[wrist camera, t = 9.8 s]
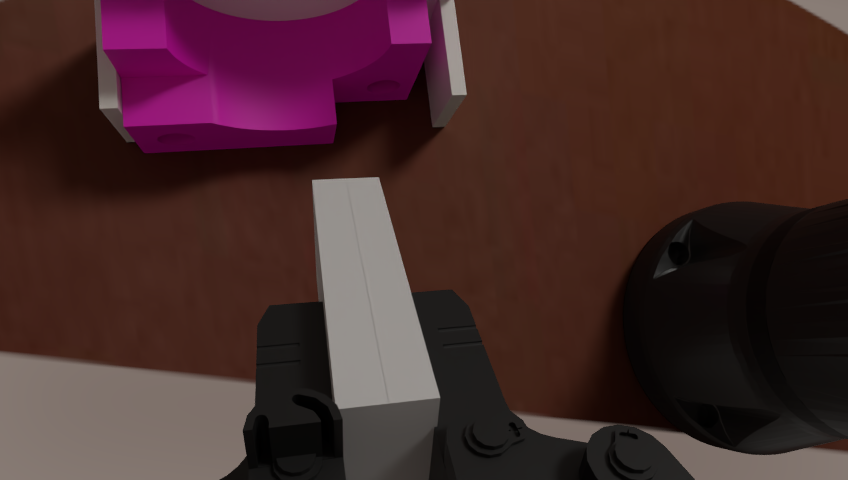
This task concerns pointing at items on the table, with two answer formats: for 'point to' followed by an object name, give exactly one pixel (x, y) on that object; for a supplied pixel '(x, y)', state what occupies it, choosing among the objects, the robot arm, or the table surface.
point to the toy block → (255, 70)
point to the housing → (302, 3)
